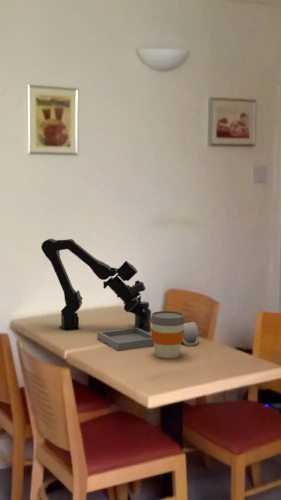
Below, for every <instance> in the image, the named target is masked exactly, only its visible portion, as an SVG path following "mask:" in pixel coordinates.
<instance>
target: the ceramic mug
mask: <svg viewBox="0 0 281 500" xmlns="http://www.w3.org/2000/svg"><path fill="white" fill-rule="evenodd" d="M183 329H184V334H183V341H182V343H183V344H184V345H185V346H188V347H193V346H194V347H195V346H196V345H197V344H198V340H199V335H200V334H199V328H198V325H197V323H196V322H194V321H191V322H185V323H184V327H183ZM182 343H181V344H182Z"/></svg>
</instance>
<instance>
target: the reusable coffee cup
mask: <svg viewBox="0 0 281 500" xmlns="http://www.w3.org/2000/svg"><path fill="white" fill-rule="evenodd" d="M185 316H186V315H185V314H184V313H182V312H179V311H172V310H159V311H154V312H151V330H150V331H151V334H152V341H153V342H154V346H153V349H154V355H155V357H159V358H162V359H163V358H164V359H174V358H178V357H179V356H180V354H181V353H180V352H181V345H182V341H183V334H184V329H183V327H184V323H186V319H185V318H186V317H185Z"/></svg>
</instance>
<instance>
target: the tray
mask: <svg viewBox="0 0 281 500" xmlns="http://www.w3.org/2000/svg"><path fill="white" fill-rule="evenodd" d="M96 335H97V336H96V337H97V340H98V339H99V340H98V341H100V340H101V341H100V342H102V341H103V342H105V343H107V344H106V345H107V346H109V347H110V348H112V349H114V350H116V351H118V352H119V351H120V352H121V351H126V350H134V349H141V348H147V347H154V342H153V341H152V333H150V332H146V331H144V330H142V329H139V328H137V327H136V328H135V327H129V328H121V329H115V330H114V329H113V330H106V331H98V332H97V334H96ZM103 342H102V343H103ZM105 343H104V344H105Z"/></svg>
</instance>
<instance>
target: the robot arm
mask: <svg viewBox="0 0 281 500" xmlns="http://www.w3.org/2000/svg"><path fill="white" fill-rule="evenodd" d="M40 247H41V250H42V252H43V254H44V256H45V257H46V258H47V259H48V260H49V261H50V262H49V263H51V266H52V268H53V271H54V273H55V274H56V277H57V280H58V282H59V285H60V286H61V290H62V291H63V296H64V302H65V306H64V307H63V308H62V309H61V310H60V313H61V317H60V318H61V319H60V321H61V322H60V323H61V325H59V328H61V329H63V330H64V331H70V330H71V331H72V330H79V329H80V322H79V321H80V317H79V316H78V315H79V314H78V312H77V311H79V309H80V308H81V307H82V304H83V297H82V296H81V293H80V290H79V289H78V290H77V291H76V289H74V286H73V284H72V282H71V280H70V278H69V275H68V273H67V271H66V270H67V269H66V268H65V266H64V263H63V262H62V259H61V254H60V251H63V250H64V251H65V250H68V251H69V252H70V253H72V254H73V255H75V256H76V257H77V258H78V259H80V260H81V261H82V262H83V263H84V264H85V265H87V267H89V268H90V269H91V271H92V272H93V273H94V275H95V276H96V277H97V279H99V280H101V281H103V282H102V285H103V286H102V287H103V289H106V288H107V287H109V289H110V290H112V292H113V293H114V294H115V295H116V297H117V298H118V299H120V300H121V301H122V302H123V304H124V305H123V310H124V311H125V312H126V313H131V314H134V315H135V314H136V315H138V316H141V317H143V318H146V314H145V313H144V312H143V310H142V309H141V307H140V306H139V302H142V295H141V292H144V291H146V286H145V284H144V282H143V281H140V280H135V281H134V284H133V285H132V286H130V285H129V284H126V283H125V282H129V281H130V280H131V279H132V278H133V277H134V276H136V275H137V273H138V270H137V268H136V267H135V266H134V265H132V264H131V263H129V262H128V261H127V260H125V261H124V262H123V264H121V266H119V267H117V268H116V267H111V266H110V265H109V264H107V263H106V262H104V261H102V260H99V259H97V258H95V257H94V256H93V255H92V254H90V253H89V252H88V251H87V250H85V249H84V248H83V247H82V246H81V245H80V244H78V243H77V242H76V241H75V240H74V239H72V238H68V239H57V240H56V239H54V238H47V240H44V241H43V242H42V243H41V246H40ZM109 277H110V278H109ZM107 279H108V280H107Z"/></svg>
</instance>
